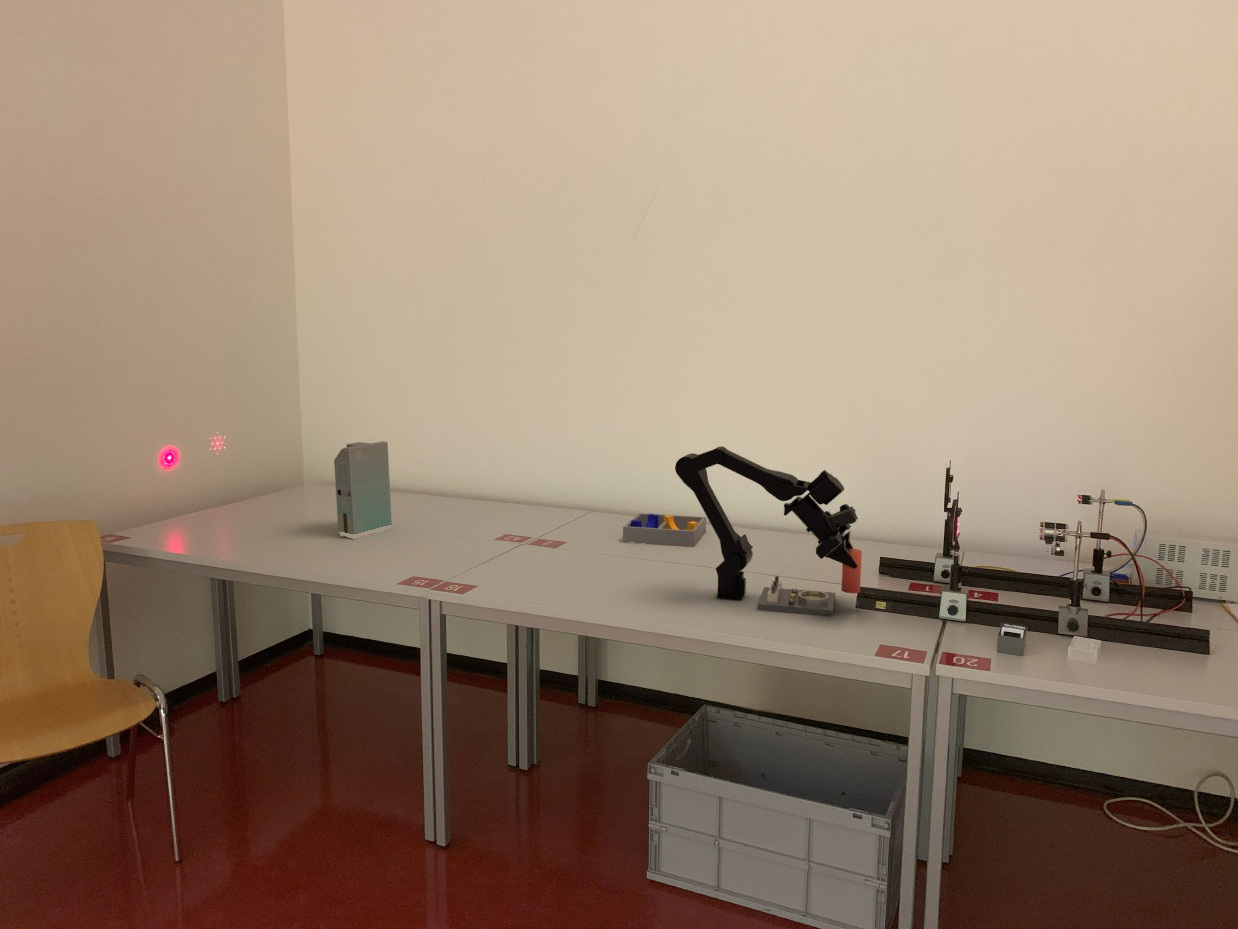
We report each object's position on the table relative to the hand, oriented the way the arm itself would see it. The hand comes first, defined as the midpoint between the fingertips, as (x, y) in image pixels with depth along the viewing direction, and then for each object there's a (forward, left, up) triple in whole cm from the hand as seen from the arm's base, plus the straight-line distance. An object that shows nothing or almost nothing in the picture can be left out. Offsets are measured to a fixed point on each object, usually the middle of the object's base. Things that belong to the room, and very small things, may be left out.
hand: (857, 565), depth 216 cm
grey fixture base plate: (-14, +1, -11) cm, 18 cm away
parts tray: (-61, +58, -11) cm, 85 cm away
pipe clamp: (-56, +58, -12) cm, 82 cm away
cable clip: (-68, +59, -12) cm, 91 cm away
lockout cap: (-1, 0, -7) cm, 7 cm away
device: (-159, +38, -12) cm, 164 cm away
